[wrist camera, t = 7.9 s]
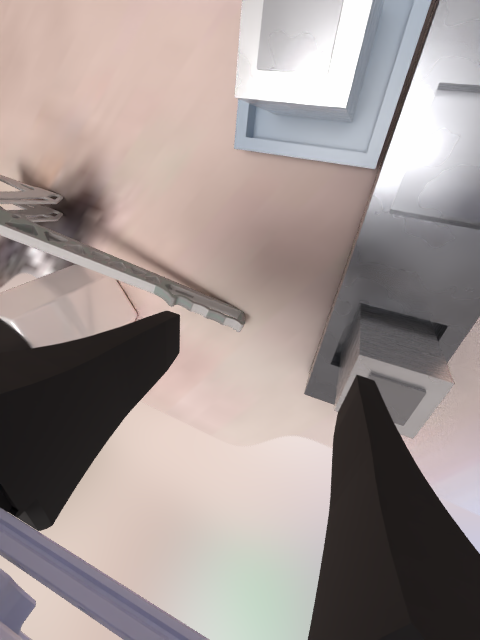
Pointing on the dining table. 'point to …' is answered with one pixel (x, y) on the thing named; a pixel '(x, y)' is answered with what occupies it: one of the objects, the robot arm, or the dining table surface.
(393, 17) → the tray
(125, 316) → the jar
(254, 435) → the dining table surface
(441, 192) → the slotted metal plate
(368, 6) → the light grey rectangular block
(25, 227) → the bracket
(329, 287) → the dining table surface
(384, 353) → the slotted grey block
